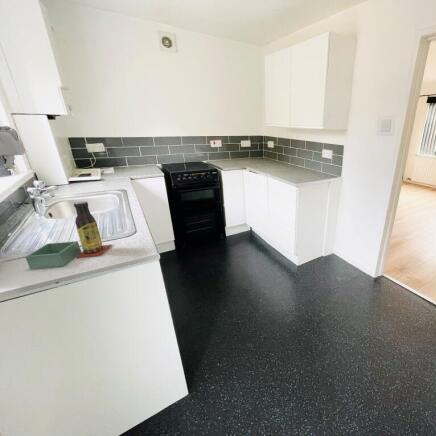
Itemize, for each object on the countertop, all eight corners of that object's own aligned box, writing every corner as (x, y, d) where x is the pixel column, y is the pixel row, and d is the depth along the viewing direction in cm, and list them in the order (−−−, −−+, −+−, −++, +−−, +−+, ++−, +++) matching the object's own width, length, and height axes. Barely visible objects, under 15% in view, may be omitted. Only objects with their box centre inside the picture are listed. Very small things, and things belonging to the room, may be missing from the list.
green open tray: (30, 269, 86) (24, 256, 84) (52, 255, 95) (47, 243, 94) (63, 266, 87) (59, 253, 86) (81, 252, 97) (77, 241, 96)
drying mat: (76, 258, 93) (76, 256, 93) (90, 247, 101) (89, 246, 101) (100, 255, 94) (99, 254, 94) (111, 245, 103) (111, 244, 103)
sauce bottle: (91, 255, 94) (75, 205, 87) (80, 253, 96) (63, 204, 89) (108, 247, 100) (94, 201, 93) (96, 245, 101) (82, 199, 95)
